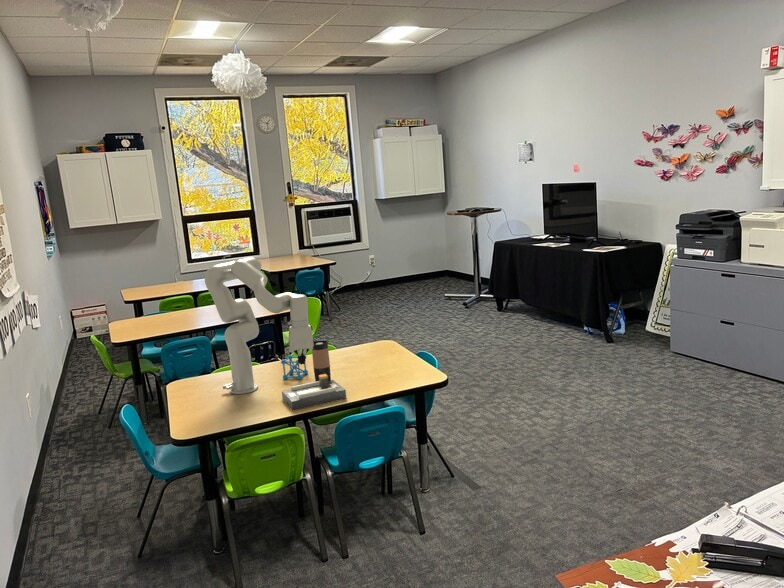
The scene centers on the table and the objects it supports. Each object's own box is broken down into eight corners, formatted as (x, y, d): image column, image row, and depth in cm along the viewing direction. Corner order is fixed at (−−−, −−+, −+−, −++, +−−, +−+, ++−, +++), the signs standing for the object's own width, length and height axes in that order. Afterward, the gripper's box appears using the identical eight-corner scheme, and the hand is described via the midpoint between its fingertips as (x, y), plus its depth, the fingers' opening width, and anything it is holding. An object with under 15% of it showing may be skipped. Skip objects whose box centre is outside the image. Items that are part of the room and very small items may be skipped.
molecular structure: (282, 380, 287) (279, 360, 286) (290, 373, 297) (288, 354, 295) (301, 380, 285) (299, 360, 283) (308, 373, 294) (306, 354, 293)
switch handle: (321, 389, 257) (320, 377, 256) (319, 386, 260) (318, 375, 259) (328, 387, 258) (327, 375, 257) (326, 385, 261) (325, 373, 260)
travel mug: (334, 381, 280) (330, 340, 276) (328, 386, 273) (324, 344, 269) (319, 380, 282) (315, 340, 278) (312, 386, 275) (308, 344, 271)
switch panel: (292, 410, 246) (291, 398, 245) (282, 399, 260) (281, 387, 259) (346, 398, 256) (345, 386, 255) (333, 388, 270) (332, 376, 269)
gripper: (285, 327, 249) (287, 368, 253) (318, 322, 255) (320, 363, 259) (280, 323, 256) (282, 363, 259) (313, 319, 262) (315, 358, 266)
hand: (301, 363), depth 259 cm, fingers closed
